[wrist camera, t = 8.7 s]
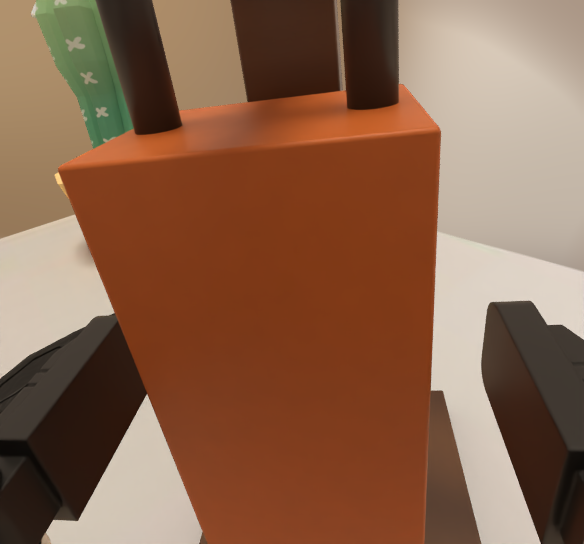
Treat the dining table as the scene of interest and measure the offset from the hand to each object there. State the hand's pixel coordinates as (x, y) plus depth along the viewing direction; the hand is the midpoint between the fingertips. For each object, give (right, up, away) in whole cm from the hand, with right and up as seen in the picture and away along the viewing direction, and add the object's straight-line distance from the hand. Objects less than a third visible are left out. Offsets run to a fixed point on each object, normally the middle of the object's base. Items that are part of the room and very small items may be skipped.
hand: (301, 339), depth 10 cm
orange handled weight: (+1, -5, +2) cm, 5 cm away
